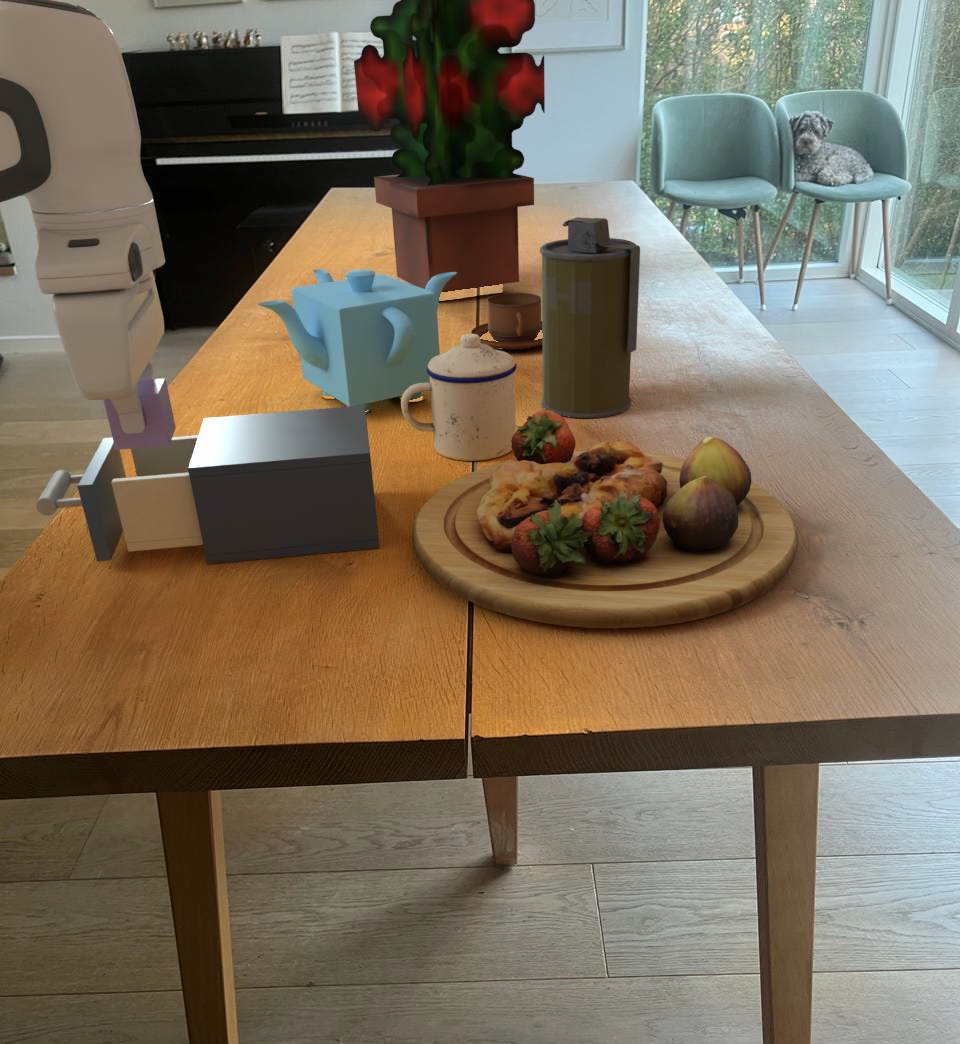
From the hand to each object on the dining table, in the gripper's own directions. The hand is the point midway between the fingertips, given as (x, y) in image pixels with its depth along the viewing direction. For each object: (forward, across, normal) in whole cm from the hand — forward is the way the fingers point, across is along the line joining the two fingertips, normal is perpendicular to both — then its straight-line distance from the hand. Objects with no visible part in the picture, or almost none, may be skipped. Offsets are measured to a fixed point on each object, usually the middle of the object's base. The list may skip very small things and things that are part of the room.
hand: (141, 419), depth 85 cm
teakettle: (+11, -37, +19) cm, 43 cm away
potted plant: (+11, -91, +36) cm, 99 cm away
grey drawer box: (+11, 0, +11) cm, 16 cm away
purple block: (+2, 0, 0) cm, 2 cm away
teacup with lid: (+11, -16, +28) cm, 34 cm away
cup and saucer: (+11, -55, +40) cm, 69 cm away
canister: (+11, -27, +44) cm, 53 cm away
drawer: (+10, 0, 0) cm, 10 cm away
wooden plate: (+11, +9, +37) cm, 40 cm away
